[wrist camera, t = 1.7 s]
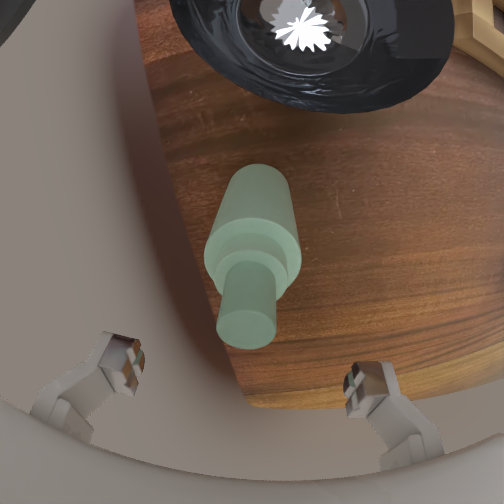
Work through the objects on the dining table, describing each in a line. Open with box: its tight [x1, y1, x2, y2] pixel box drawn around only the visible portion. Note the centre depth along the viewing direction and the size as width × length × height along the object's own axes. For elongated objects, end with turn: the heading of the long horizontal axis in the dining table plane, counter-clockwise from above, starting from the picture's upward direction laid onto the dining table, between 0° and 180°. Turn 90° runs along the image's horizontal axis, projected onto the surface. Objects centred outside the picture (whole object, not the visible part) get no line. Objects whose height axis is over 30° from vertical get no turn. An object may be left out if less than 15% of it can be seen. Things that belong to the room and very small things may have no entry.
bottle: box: [204, 164, 302, 349], centre depth 17 cm, size 5×5×15 cm
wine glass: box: [169, 0, 455, 114], centre depth 10 cm, size 8×8×15 cm
